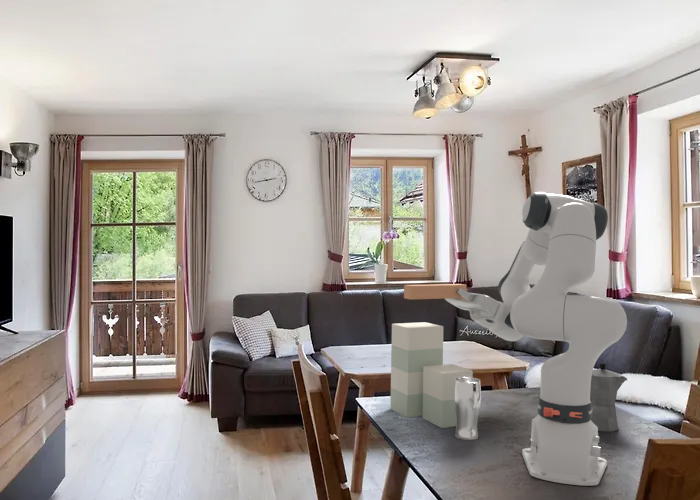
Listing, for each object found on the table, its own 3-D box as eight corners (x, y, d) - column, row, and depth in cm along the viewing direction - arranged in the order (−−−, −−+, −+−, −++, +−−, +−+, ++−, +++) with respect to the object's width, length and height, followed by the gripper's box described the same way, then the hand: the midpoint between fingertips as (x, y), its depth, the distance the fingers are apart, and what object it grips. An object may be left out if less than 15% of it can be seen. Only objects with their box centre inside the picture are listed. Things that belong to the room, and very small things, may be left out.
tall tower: (423, 404, 185) (425, 322, 185) (441, 413, 176) (443, 326, 175) (390, 408, 180) (391, 323, 179) (407, 417, 171) (408, 328, 170)
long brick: (458, 296, 186) (458, 283, 186) (466, 297, 182) (466, 284, 182) (403, 298, 178) (404, 285, 178) (410, 299, 174) (410, 286, 174)
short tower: (451, 414, 175) (452, 364, 175) (471, 423, 166) (472, 370, 166) (422, 418, 170) (423, 366, 170) (441, 428, 161) (442, 373, 161)
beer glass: (468, 442, 150) (469, 384, 150) (447, 435, 155) (448, 379, 155) (485, 437, 154) (486, 380, 154) (464, 430, 160) (465, 375, 159)
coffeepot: (632, 428, 164) (633, 364, 164) (619, 436, 157) (620, 369, 157) (577, 416, 175) (578, 356, 174) (563, 423, 168) (564, 360, 168)
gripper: (468, 298, 198) (438, 278, 193) (508, 304, 179) (477, 282, 174) (460, 315, 197) (430, 295, 191) (500, 323, 178) (468, 301, 173)
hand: (452, 289), depth 183 cm, fingers closed on long brick, 4 cm apart
